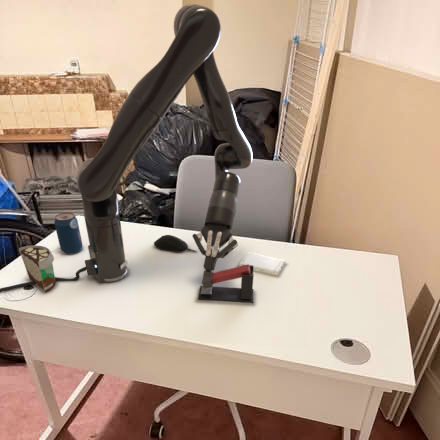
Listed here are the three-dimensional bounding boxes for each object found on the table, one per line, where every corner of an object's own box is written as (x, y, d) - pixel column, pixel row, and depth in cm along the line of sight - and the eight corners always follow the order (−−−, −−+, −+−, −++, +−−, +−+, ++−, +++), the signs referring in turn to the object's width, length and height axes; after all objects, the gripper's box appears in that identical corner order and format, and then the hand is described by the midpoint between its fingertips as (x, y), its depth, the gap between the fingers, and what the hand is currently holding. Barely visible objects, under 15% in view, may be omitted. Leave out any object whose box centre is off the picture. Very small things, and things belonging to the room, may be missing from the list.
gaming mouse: (191, 256, 128) (191, 245, 125) (150, 248, 132) (149, 237, 130) (199, 247, 133) (199, 237, 130) (159, 240, 137) (158, 229, 134)
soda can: (87, 249, 130) (80, 215, 123) (68, 257, 126) (60, 222, 119) (75, 243, 134) (68, 209, 127) (57, 250, 129) (48, 216, 123)
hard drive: (239, 263, 122) (277, 271, 118) (248, 251, 128) (285, 259, 124) (238, 267, 123) (277, 276, 119) (247, 255, 129) (284, 264, 125)
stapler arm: (204, 288, 105) (201, 282, 104) (206, 276, 110) (204, 270, 109) (250, 278, 102) (248, 271, 101) (250, 266, 107) (248, 260, 106)
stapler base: (197, 301, 107) (197, 273, 102) (200, 289, 112) (200, 261, 107) (253, 304, 107) (255, 276, 101) (253, 292, 111) (255, 264, 106)
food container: (68, 286, 112) (60, 255, 107) (47, 294, 109) (39, 263, 103) (47, 270, 119) (39, 240, 114) (27, 277, 115) (17, 247, 110)
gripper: (195, 202, 106) (181, 263, 103) (243, 208, 103) (230, 271, 100) (201, 213, 113) (188, 271, 110) (246, 219, 110) (234, 278, 107)
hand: (208, 271), depth 105 cm, fingers closed
